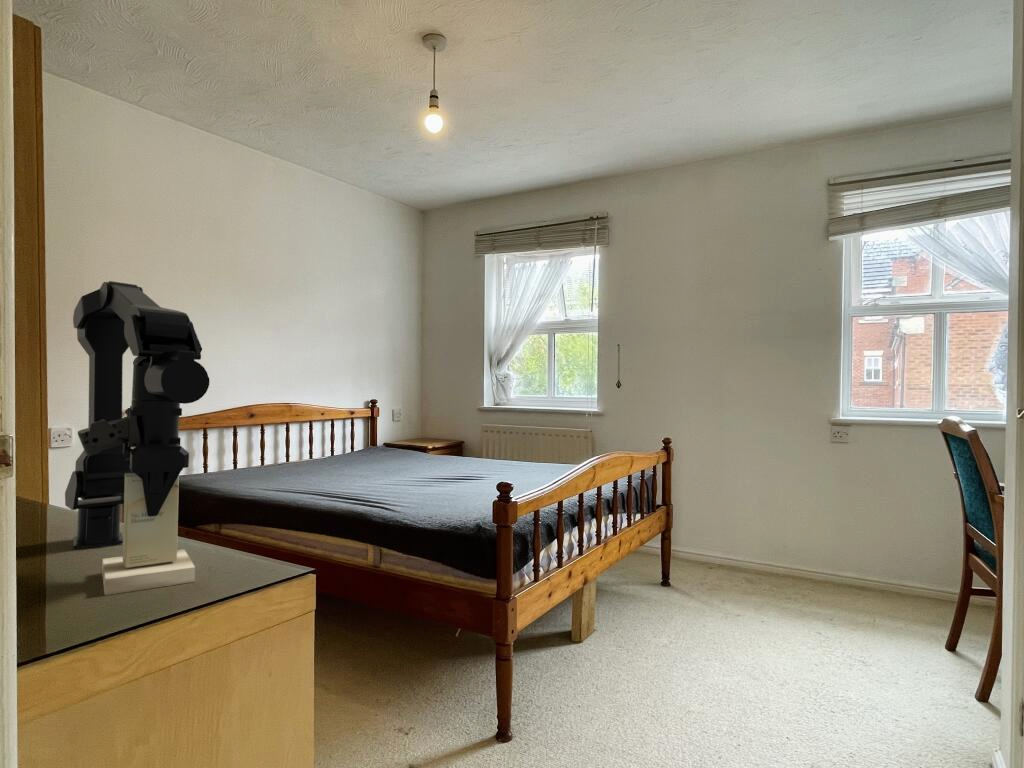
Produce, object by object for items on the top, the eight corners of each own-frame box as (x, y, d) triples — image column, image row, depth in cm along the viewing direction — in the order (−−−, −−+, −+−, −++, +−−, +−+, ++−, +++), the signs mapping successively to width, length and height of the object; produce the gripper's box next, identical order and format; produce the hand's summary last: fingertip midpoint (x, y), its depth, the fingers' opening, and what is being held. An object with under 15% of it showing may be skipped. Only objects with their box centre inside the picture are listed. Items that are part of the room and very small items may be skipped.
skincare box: (124, 569, 76) (125, 477, 75) (122, 560, 79) (122, 472, 79) (179, 560, 80) (179, 473, 79) (174, 552, 83) (175, 468, 83)
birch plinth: (101, 573, 80) (102, 558, 80) (183, 562, 86) (184, 549, 86) (104, 595, 72) (105, 579, 72) (194, 581, 78) (195, 567, 78)
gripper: (83, 395, 82) (77, 504, 82) (84, 401, 67) (77, 535, 67) (173, 397, 89) (168, 498, 89) (192, 403, 74) (186, 525, 74)
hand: (150, 512), depth 79 cm, fingers closed on skincare box, 4 cm apart
